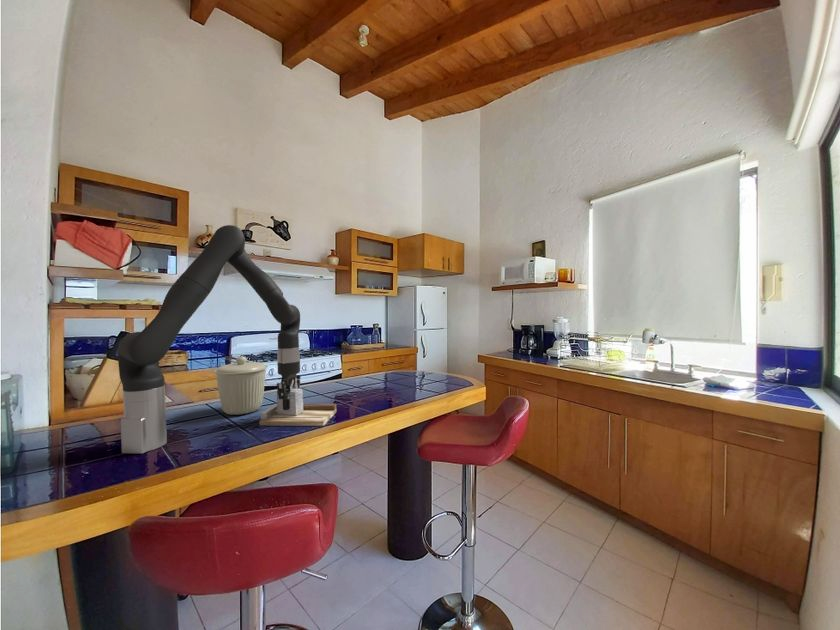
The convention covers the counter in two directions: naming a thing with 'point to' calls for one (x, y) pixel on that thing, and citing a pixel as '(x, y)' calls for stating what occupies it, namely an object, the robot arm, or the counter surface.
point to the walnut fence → (319, 406)
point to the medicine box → (292, 403)
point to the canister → (241, 386)
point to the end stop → (269, 412)
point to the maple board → (300, 418)
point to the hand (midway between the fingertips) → (289, 407)
